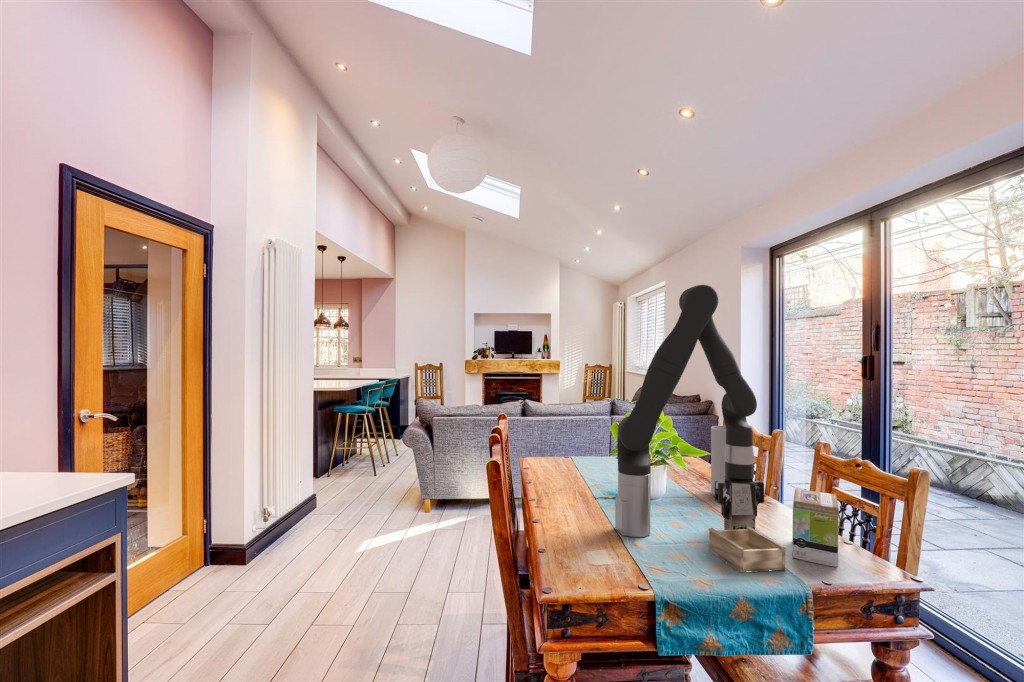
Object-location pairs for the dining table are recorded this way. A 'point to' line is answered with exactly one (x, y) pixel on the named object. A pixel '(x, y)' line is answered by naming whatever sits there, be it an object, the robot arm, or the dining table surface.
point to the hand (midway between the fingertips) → (739, 518)
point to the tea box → (815, 527)
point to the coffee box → (741, 505)
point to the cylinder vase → (717, 455)
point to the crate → (747, 549)
